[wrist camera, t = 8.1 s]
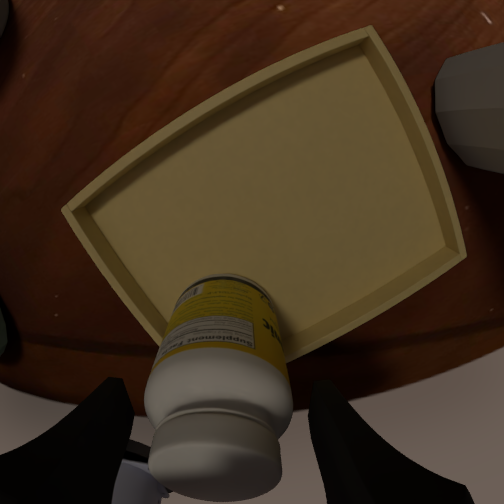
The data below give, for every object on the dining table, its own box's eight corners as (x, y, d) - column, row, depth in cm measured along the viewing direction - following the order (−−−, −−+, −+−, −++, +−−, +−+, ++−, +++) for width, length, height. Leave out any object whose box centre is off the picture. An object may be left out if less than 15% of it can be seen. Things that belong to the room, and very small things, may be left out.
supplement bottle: (272, 356, 17) (291, 508, 8) (179, 352, 17) (143, 500, 8) (280, 271, 15) (322, 428, 6) (172, 267, 15) (99, 414, 6)
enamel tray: (208, 375, 18) (206, 397, 16) (78, 201, 14) (59, 209, 13) (448, 245, 16) (467, 256, 14) (357, 37, 12) (371, 24, 10)
